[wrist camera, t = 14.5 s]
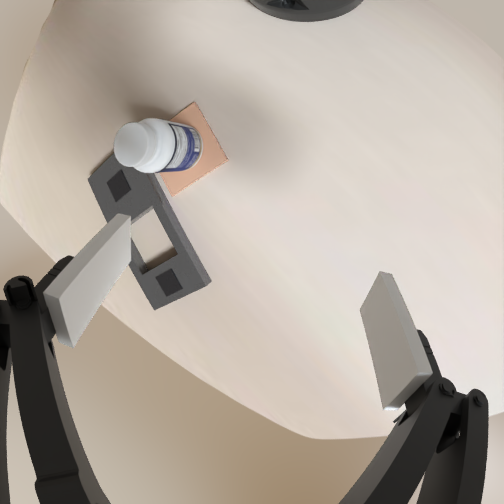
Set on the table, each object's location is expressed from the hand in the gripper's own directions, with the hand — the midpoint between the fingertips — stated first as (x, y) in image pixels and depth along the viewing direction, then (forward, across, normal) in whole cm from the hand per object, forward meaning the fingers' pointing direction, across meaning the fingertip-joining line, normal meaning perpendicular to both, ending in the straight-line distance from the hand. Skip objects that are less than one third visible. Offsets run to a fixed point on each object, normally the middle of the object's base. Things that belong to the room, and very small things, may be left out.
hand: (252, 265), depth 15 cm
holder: (+19, -13, -11) cm, 26 cm away
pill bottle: (+21, -10, 0) cm, 23 cm away
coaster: (+21, -10, 0) cm, 23 cm away
